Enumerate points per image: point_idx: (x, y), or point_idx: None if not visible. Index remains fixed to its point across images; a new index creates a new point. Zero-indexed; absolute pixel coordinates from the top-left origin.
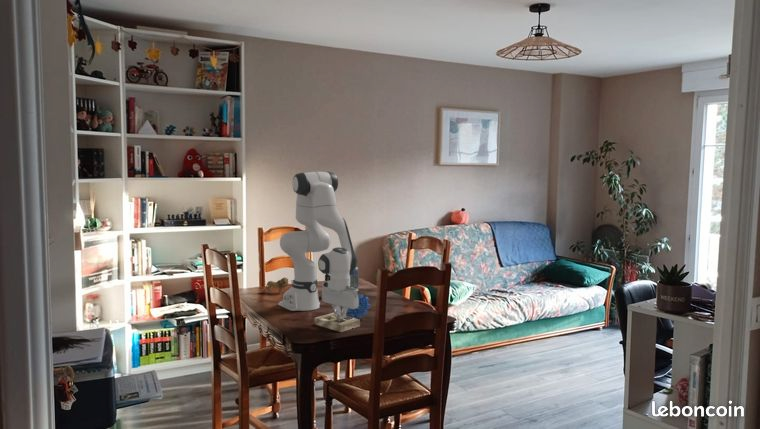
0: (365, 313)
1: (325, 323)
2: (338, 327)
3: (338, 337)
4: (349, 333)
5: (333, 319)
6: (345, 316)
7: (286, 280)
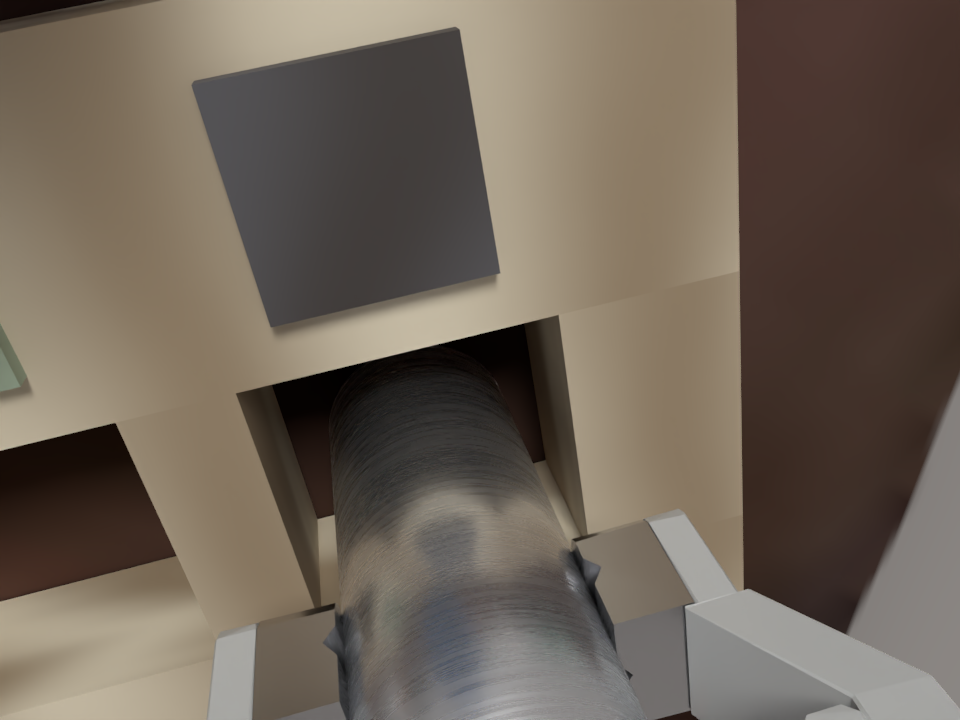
0: None
1: None
2: None
3: (842, 632)
4: (840, 413)
5: (210, 564)
6: (59, 101)
7: None
